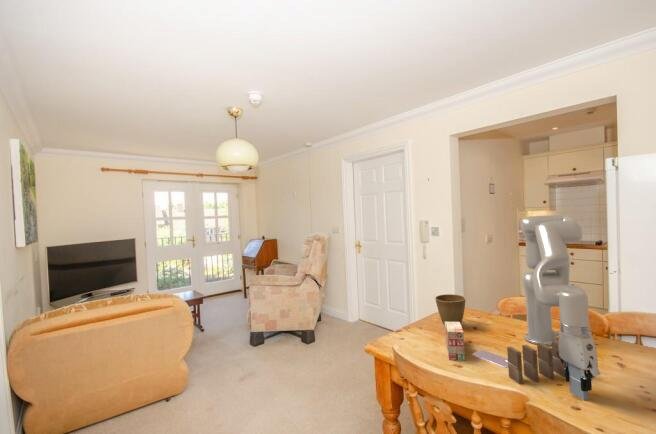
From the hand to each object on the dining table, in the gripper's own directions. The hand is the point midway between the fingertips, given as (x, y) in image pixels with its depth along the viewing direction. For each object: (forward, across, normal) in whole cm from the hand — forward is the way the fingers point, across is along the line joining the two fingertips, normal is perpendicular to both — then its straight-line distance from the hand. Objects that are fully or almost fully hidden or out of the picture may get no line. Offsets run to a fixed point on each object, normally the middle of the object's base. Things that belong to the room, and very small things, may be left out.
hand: (578, 385), depth 102 cm
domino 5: (+3, 0, 0) cm, 3 cm away
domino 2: (+3, +13, +6) cm, 15 cm away
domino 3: (+3, +13, 0) cm, 13 cm away
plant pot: (+4, +67, +7) cm, 67 cm away
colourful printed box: (+4, +42, +19) cm, 46 cm away
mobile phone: (+4, +30, +9) cm, 32 cm away
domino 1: (+3, +13, +12) cm, 18 cm away
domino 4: (+3, +13, -6) cm, 15 cm away
